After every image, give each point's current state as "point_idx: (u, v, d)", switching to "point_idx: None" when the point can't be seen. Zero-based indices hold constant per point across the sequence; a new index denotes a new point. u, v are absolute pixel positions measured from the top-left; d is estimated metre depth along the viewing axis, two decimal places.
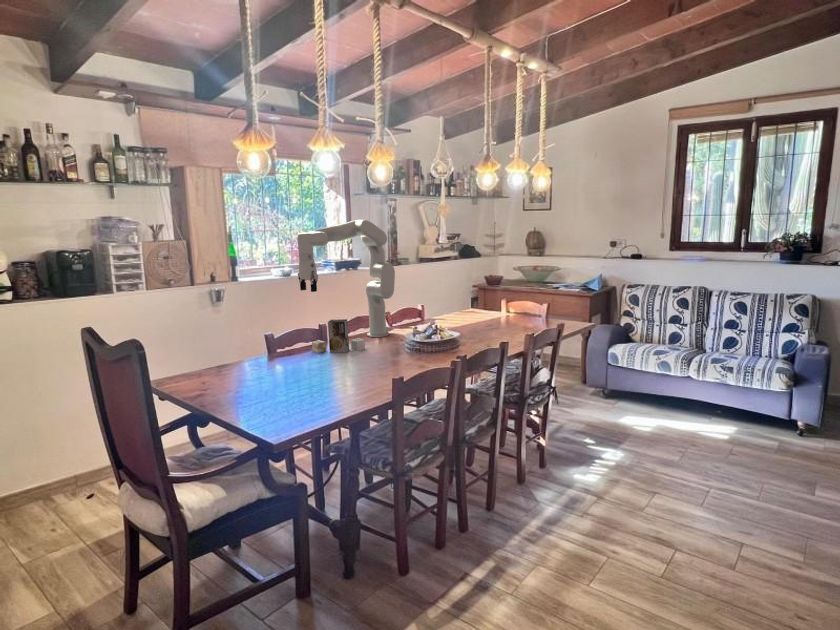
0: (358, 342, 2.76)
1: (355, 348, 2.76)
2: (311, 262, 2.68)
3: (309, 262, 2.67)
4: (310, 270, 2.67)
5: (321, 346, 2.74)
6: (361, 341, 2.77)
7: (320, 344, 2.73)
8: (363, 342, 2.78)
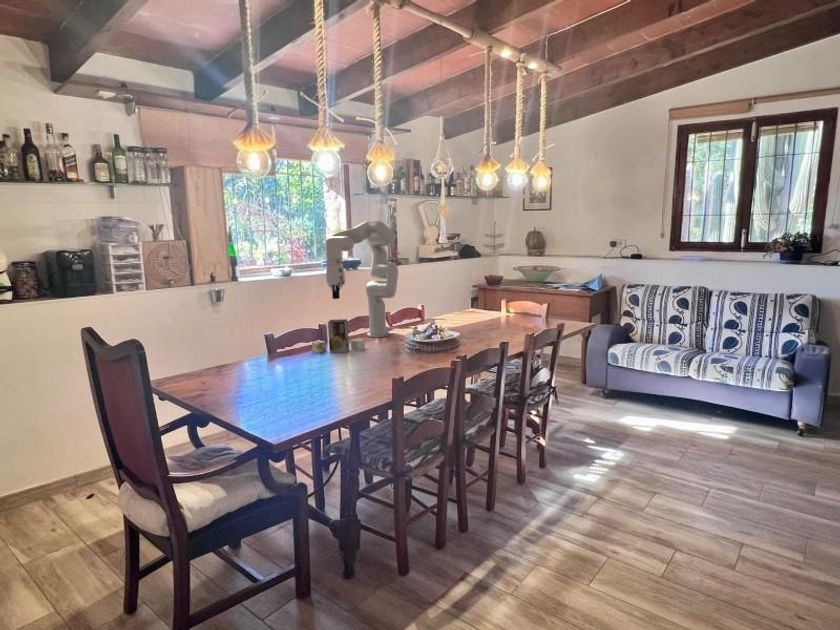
0: (358, 342, 2.76)
1: (355, 348, 2.76)
2: (339, 267, 2.64)
3: (337, 267, 2.64)
4: (338, 275, 2.64)
5: (321, 346, 2.74)
6: (361, 341, 2.77)
7: (320, 344, 2.73)
8: (363, 342, 2.78)
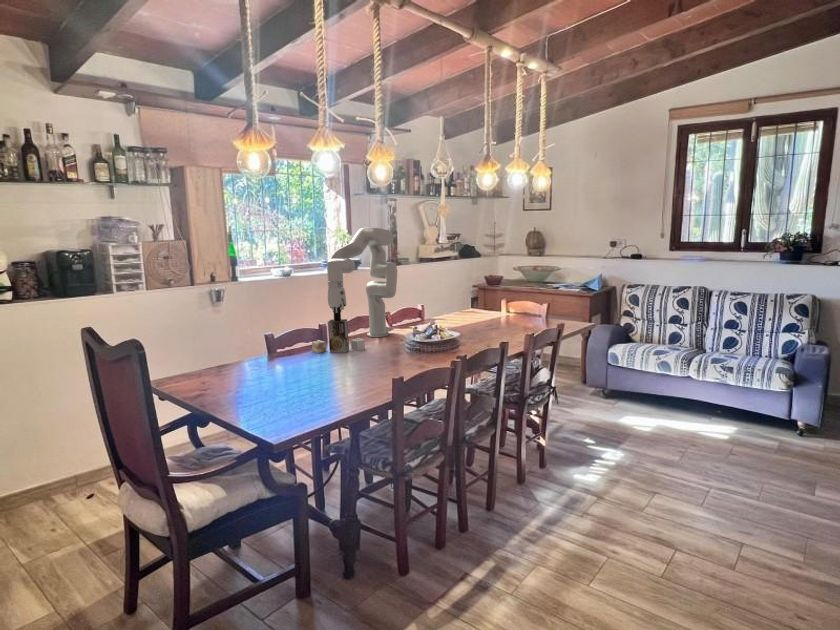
0: (358, 342, 2.76)
1: (355, 348, 2.76)
2: (341, 289, 2.66)
3: (339, 290, 2.66)
4: (340, 298, 2.66)
5: (321, 346, 2.74)
6: (361, 341, 2.77)
7: (320, 344, 2.73)
8: (363, 342, 2.78)
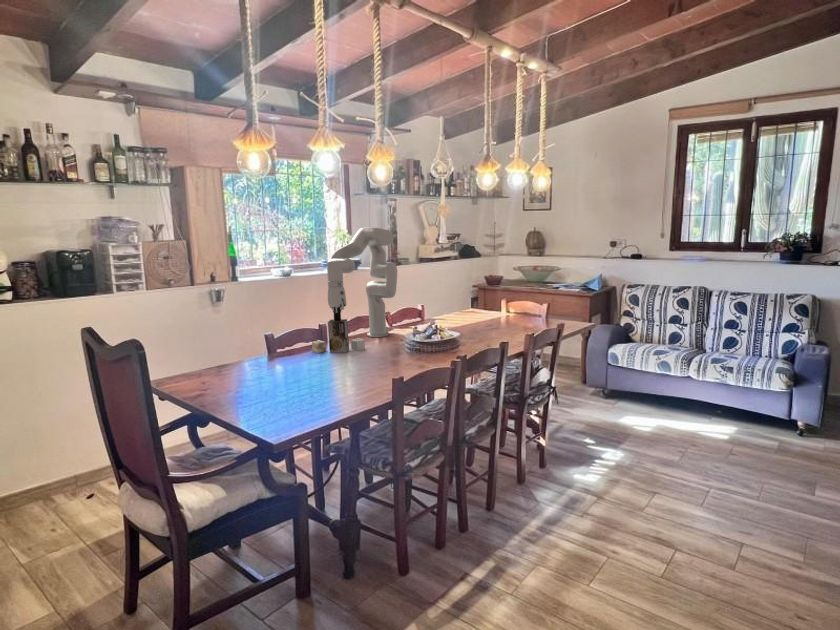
0: (358, 342, 2.76)
1: (355, 348, 2.76)
2: (341, 289, 2.66)
3: (339, 290, 2.66)
4: (340, 298, 2.66)
5: (321, 346, 2.74)
6: (361, 341, 2.77)
7: (320, 344, 2.73)
8: (363, 342, 2.78)
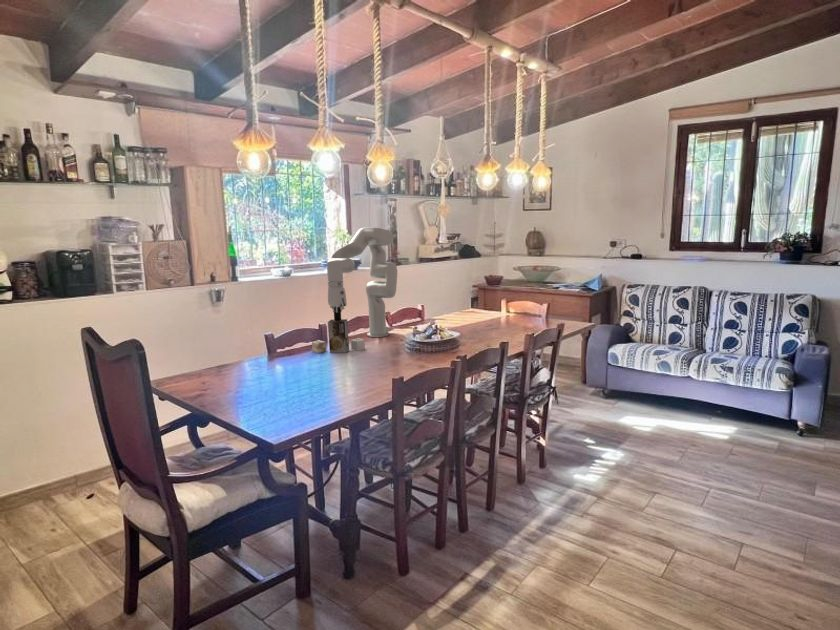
0: (358, 342, 2.76)
1: (355, 348, 2.76)
2: (341, 289, 2.67)
3: (339, 289, 2.66)
4: (340, 297, 2.66)
5: (321, 346, 2.74)
6: (361, 341, 2.77)
7: (320, 344, 2.73)
8: (363, 342, 2.78)
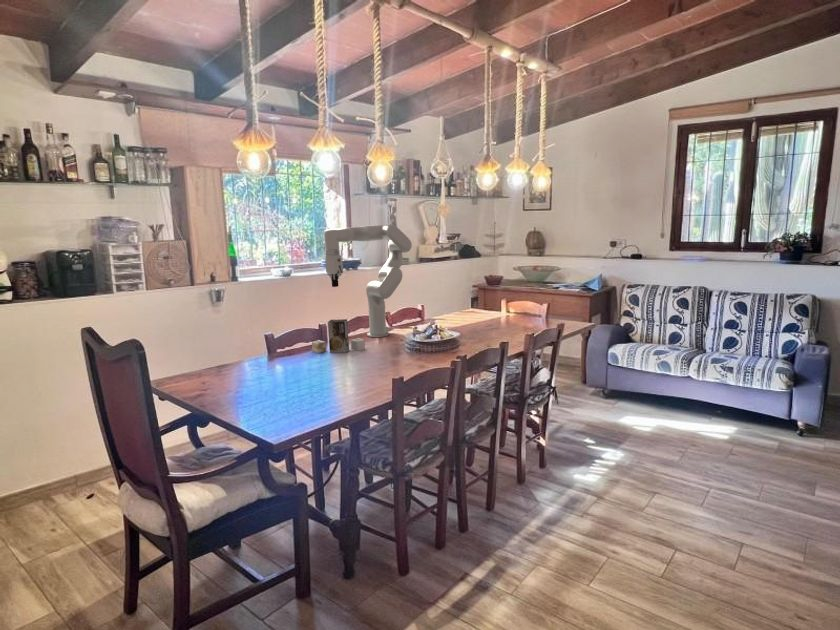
0: (358, 342, 2.76)
1: (355, 348, 2.76)
2: (338, 257, 2.83)
3: (336, 257, 2.83)
4: (337, 264, 2.83)
5: (321, 346, 2.74)
6: (361, 341, 2.77)
7: (320, 344, 2.73)
8: (363, 342, 2.78)
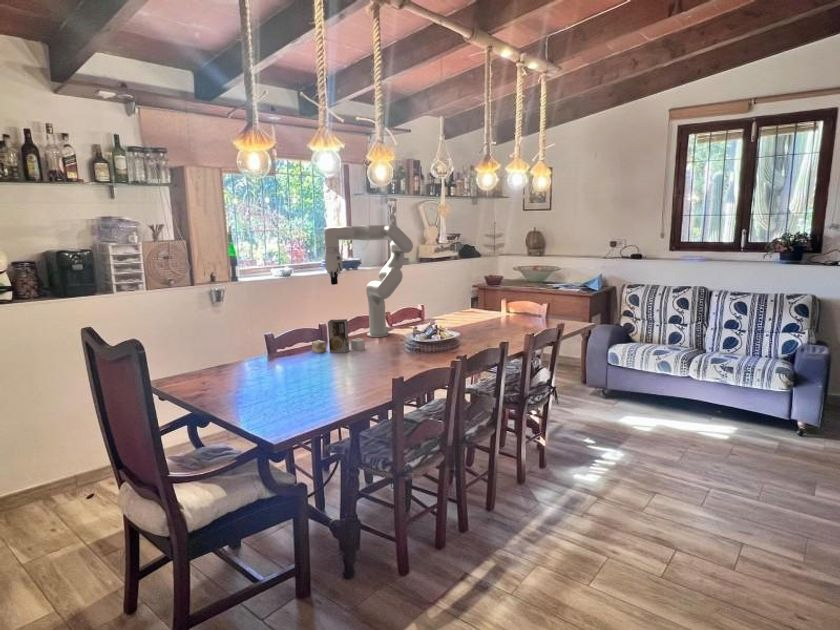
0: (358, 342, 2.76)
1: (355, 348, 2.76)
2: (337, 255, 2.85)
3: (335, 255, 2.84)
4: (336, 262, 2.84)
5: (321, 346, 2.74)
6: (361, 341, 2.77)
7: (320, 344, 2.73)
8: (363, 342, 2.78)
